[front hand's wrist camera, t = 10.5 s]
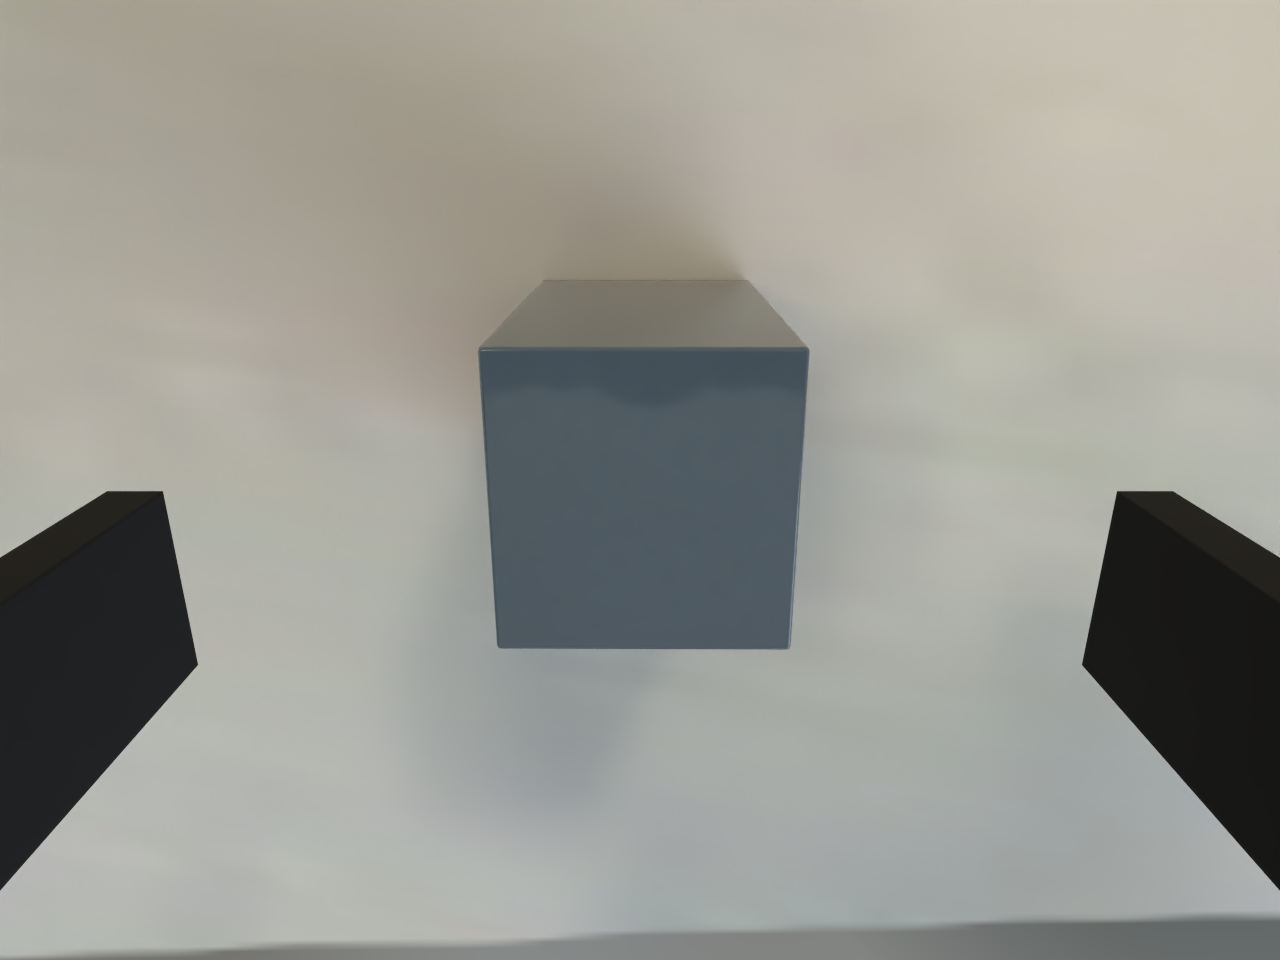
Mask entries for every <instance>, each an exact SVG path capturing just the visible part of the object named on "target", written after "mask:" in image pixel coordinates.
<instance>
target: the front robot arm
mask: <svg viewBox="0 0 1280 960" xmlns="http://www.w3.org/2000/svg"><path fill="white" fill-rule="evenodd" d="M197 665H198V663H197V658H196V653H195V648H194V643H193V638H192V633H191V628H190V623H189V618H188V613H187V608H186V603H185V599H184V594H183V589H182V584H181V579H180V574H179V569H178V564H177V559H176V554H175V549H174V544H173V539H172V534H171V529H170V524H169V519H168V514H167V510H166V505H165V500H164V495H163V491H107V492H105V493H104V494H102V495H101V496H99V497H97V498H96V499H94V500H92V501H91V502H89V503H88V504H86V505H84V506H83V507H81V508H80V509H78V510H76V511H75V512H73V513H71V514H70V515H68V516H67V517H65V518H63V519H62V520H60V521H59V522H57V523H55V524H54V525H52V526H51V527H49V528H47V529H46V530H44V531H42V532H41V533H39V534H38V535H36V536H34V537H33V538H31V539H30V540H28V541H26V542H25V543H23V544H22V545H20V546H18V547H17V548H15V549H13V550H12V551H10V552H9V553H7V554H5V555H4V556H2V557H1V558H0V890H1V889H2V888H3V887H4V885H5V884H6V883H7V882H8V881H9V880H10V879H11V877H12V876H13V875H14V874H15V873H16V872H17V871H18V869H19V868H20V867H21V866H22V865H23V864H24V863H25V861H26V860H27V859H28V858H29V857H30V856H31V855H32V854H33V852H34V851H35V850H36V849H37V848H38V847H39V846H40V844H41V843H42V842H43V841H44V840H45V839H46V838H47V836H48V835H49V834H50V833H51V832H52V831H53V830H54V828H55V827H56V826H57V825H58V824H59V823H60V822H61V820H62V819H63V818H64V817H65V816H66V815H67V814H68V812H69V811H70V810H71V809H72V808H73V807H74V806H75V804H76V803H77V802H78V801H79V800H80V799H81V798H82V797H83V795H84V794H85V793H86V792H87V791H88V790H89V789H90V787H91V786H92V785H93V784H94V783H95V782H96V781H97V779H98V778H99V777H100V776H101V775H102V774H103V773H104V771H105V770H106V769H107V768H108V767H109V766H110V765H111V763H112V762H113V761H114V760H115V759H116V758H117V757H118V755H119V754H120V753H121V752H122V751H123V750H124V749H125V747H126V746H127V745H128V744H129V743H130V742H131V741H132V739H133V738H134V737H135V736H136V735H137V734H138V733H139V732H140V730H141V729H142V728H143V727H144V726H145V725H146V724H147V722H148V721H149V720H150V719H151V718H152V717H153V716H154V714H155V713H156V712H157V711H158V710H159V709H160V708H161V706H162V705H163V704H164V703H165V702H166V701H167V700H168V698H169V697H170V696H171V695H172V694H173V693H174V692H175V690H176V689H177V688H178V687H179V686H180V685H181V684H182V682H183V681H184V680H185V679H186V678H187V677H188V676H189V674H190V673H191V672H192V671H193V670H194V669H195V668H196V667H197ZM1082 665H1083V667H1084V668H1085V669H1086V670H1087V671H1088V672H1089V673H1090V674H1091V676H1092V677H1093V678H1094V679H1095V680H1096V681H1097V682H1098V684H1099V685H1100V686H1101V687H1102V688H1103V689H1104V690H1105V692H1106V693H1107V694H1108V695H1109V696H1110V697H1111V698H1112V700H1113V701H1114V702H1115V703H1116V704H1117V705H1118V706H1119V708H1120V709H1121V710H1122V711H1123V712H1124V713H1125V714H1126V716H1127V717H1128V718H1129V719H1130V720H1131V721H1132V722H1133V724H1134V725H1135V726H1136V727H1137V728H1138V729H1139V730H1140V732H1141V733H1142V734H1143V735H1144V736H1145V737H1146V738H1147V739H1148V741H1149V742H1150V743H1151V744H1152V745H1153V746H1154V747H1155V749H1156V750H1157V751H1158V752H1159V753H1160V754H1161V755H1162V757H1163V758H1164V759H1165V760H1166V761H1167V762H1168V763H1169V765H1170V766H1171V767H1172V768H1173V769H1174V770H1175V771H1176V773H1177V774H1178V775H1179V776H1180V777H1181V778H1182V779H1183V781H1184V782H1185V783H1186V784H1187V785H1188V786H1189V787H1190V789H1191V790H1192V791H1193V792H1194V793H1195V794H1196V795H1197V797H1198V798H1199V799H1200V800H1201V801H1202V802H1203V803H1204V804H1205V806H1206V807H1207V808H1208V809H1209V810H1210V811H1211V812H1212V814H1213V815H1214V816H1215V817H1216V818H1217V819H1218V820H1219V822H1220V823H1221V824H1222V825H1223V826H1224V827H1225V828H1226V830H1227V831H1228V832H1229V833H1230V834H1231V835H1232V836H1233V838H1234V839H1235V840H1236V841H1237V842H1238V843H1239V844H1240V846H1241V847H1242V848H1243V849H1244V850H1245V851H1246V852H1247V854H1248V855H1249V856H1250V857H1251V858H1252V859H1253V860H1254V861H1255V863H1256V864H1257V865H1258V866H1259V867H1260V868H1261V869H1262V871H1263V872H1264V873H1265V874H1266V875H1267V876H1268V877H1269V879H1270V880H1271V881H1272V882H1273V883H1274V884H1275V885H1276V887H1277V888H1278V889H1279V890H1280V558H1279V557H1278V556H1276V555H1275V554H1273V553H1271V552H1270V551H1268V550H1267V549H1265V548H1263V547H1262V546H1260V545H1258V544H1257V543H1255V542H1254V541H1252V540H1250V539H1249V538H1247V537H1246V536H1244V535H1242V534H1241V533H1239V532H1238V531H1236V530H1234V529H1233V528H1231V527H1229V526H1228V525H1226V524H1225V523H1223V522H1221V521H1220V520H1218V519H1217V518H1215V517H1213V516H1212V515H1210V514H1209V513H1207V512H1205V511H1204V510H1202V509H1200V508H1199V507H1197V506H1196V505H1194V504H1192V503H1191V502H1189V501H1188V500H1186V499H1184V498H1183V497H1181V496H1179V495H1178V494H1176V493H1175V492H1173V491H1117V495H1116V500H1115V505H1114V510H1113V514H1112V519H1111V524H1110V529H1109V534H1108V539H1107V544H1106V549H1105V554H1104V559H1103V564H1102V569H1101V574H1100V579H1099V584H1098V589H1097V594H1096V599H1095V603H1094V608H1093V613H1092V618H1091V623H1090V628H1089V633H1088V638H1087V643H1086V648H1085V653H1084V658H1083V663H1082Z"/></svg>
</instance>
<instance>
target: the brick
mask: <svg viewBox="0 0 1280 960" xmlns="http://www.w3.org/2000/svg"><path fill="white" fill-rule="evenodd" d="M478 358H479V373H480V389H481V404H482V419H483V435H484V450H485V466H486V481H487V496H488V512H489V527H490V542H491V558H492V573H493V589H494V604H495V619H496V635H497V645H498V648H555V649H789V648H790V646H791V631H792V615H793V599H794V584H795V568H796V553H797V537H798V522H799V506H800V491H801V475H802V460H803V444H804V429H805V413H806V398H807V382H808V367H809V348H808V347H807V346H806V345H805V344H804V342H803V341H802V340H801V339H800V338H799V337H798V336H797V335H796V333H795V332H794V331H793V330H792V329H791V328H790V327H789V326H788V324H787V323H786V322H785V321H784V320H783V319H782V318H781V317H780V315H779V314H778V313H777V312H776V311H775V310H774V309H773V308H772V306H771V305H770V304H769V303H768V302H767V301H766V300H765V299H764V297H763V296H762V295H761V294H760V293H759V292H758V291H757V290H756V288H755V287H754V286H753V285H752V284H751V283H750V282H749V281H748V280H544V281H542V282H541V283H540V284H539V285H538V286H537V287H536V289H535V290H534V291H533V292H532V293H531V294H530V295H529V296H528V297H527V298H526V299H525V300H524V301H523V302H522V303H521V304H520V305H519V306H518V308H517V309H516V310H515V311H514V312H513V313H512V314H511V315H510V316H509V317H508V318H507V319H506V320H505V321H504V322H503V323H502V324H501V325H500V326H499V328H498V329H497V330H496V331H495V332H494V333H493V334H492V335H491V336H490V337H489V338H488V339H487V340H486V341H485V342H484V343H483V344H482V345H481V347H480V348H479V350H478Z"/></svg>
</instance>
